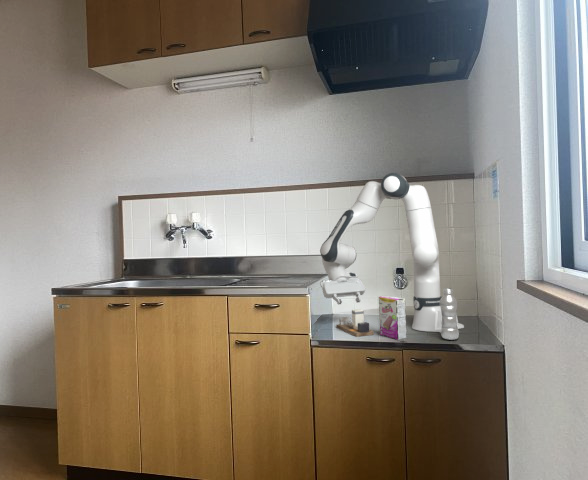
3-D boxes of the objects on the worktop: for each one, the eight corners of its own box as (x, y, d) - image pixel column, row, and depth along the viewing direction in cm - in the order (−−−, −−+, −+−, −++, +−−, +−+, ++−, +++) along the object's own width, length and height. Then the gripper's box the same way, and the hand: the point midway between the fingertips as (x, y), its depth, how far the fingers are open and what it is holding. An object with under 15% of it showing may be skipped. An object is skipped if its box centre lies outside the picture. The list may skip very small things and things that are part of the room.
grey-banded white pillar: (360, 327, 183) (360, 308, 183) (364, 328, 180) (363, 310, 180) (352, 328, 182) (351, 309, 182) (355, 329, 179) (355, 310, 179)
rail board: (352, 325, 196) (351, 316, 196) (373, 334, 177) (373, 324, 177) (336, 327, 193) (336, 318, 193) (356, 336, 174) (356, 326, 174)
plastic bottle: (460, 341, 160) (458, 289, 160) (442, 341, 162) (440, 289, 162) (457, 337, 167) (455, 287, 167) (439, 337, 168) (438, 287, 168)
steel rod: (348, 323, 195) (348, 315, 195) (369, 331, 176) (369, 323, 176) (340, 324, 193) (340, 316, 193) (360, 332, 175) (360, 324, 175)
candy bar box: (379, 335, 176) (377, 296, 175) (388, 333, 178) (386, 295, 178) (398, 340, 166) (396, 299, 166) (407, 338, 168) (405, 298, 168)
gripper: (320, 276, 192) (330, 300, 183) (360, 273, 199) (371, 296, 190) (317, 285, 196) (326, 309, 187) (356, 282, 203) (366, 304, 194)
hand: (349, 302), depth 188 cm, fingers open, 8 cm apart
